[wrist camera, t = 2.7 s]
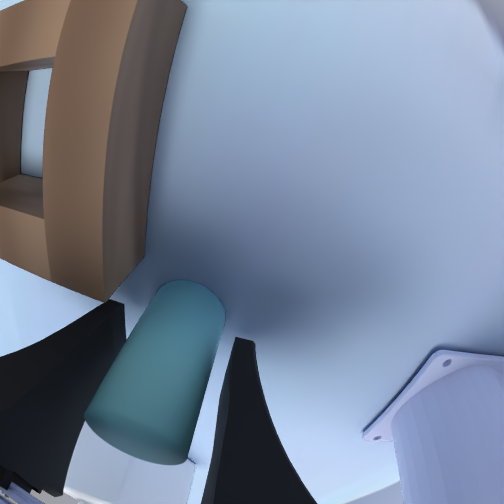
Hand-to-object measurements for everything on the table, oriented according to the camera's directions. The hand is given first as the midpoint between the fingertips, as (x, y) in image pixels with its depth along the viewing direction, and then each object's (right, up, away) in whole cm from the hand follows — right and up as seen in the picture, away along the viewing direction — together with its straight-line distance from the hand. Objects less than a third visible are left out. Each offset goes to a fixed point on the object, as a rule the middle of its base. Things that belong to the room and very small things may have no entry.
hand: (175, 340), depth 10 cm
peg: (0, +1, +2) cm, 2 cm away
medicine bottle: (-6, -12, +9) cm, 16 cm away
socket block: (-5, +8, -2) cm, 9 cm away
